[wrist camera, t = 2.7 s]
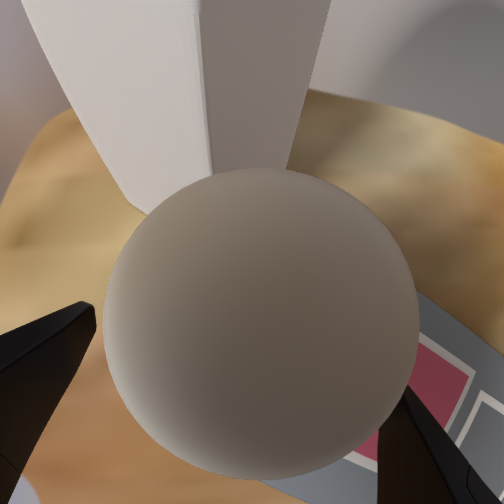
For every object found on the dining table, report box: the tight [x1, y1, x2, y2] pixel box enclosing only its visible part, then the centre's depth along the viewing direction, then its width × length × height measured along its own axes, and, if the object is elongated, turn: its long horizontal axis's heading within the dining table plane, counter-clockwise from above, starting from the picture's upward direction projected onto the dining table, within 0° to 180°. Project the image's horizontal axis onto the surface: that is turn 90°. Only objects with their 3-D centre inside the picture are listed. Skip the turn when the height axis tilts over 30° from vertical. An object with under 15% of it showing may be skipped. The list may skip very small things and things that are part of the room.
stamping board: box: [259, 290, 504, 504], centre depth 14 cm, size 14×23×2 cm, turn 56°
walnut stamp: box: [103, 168, 420, 480], centre depth 9 cm, size 5×5×15 cm
